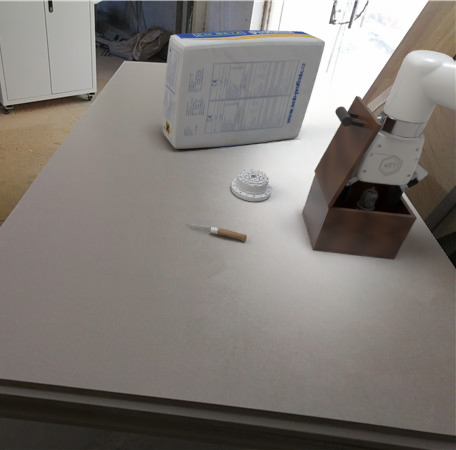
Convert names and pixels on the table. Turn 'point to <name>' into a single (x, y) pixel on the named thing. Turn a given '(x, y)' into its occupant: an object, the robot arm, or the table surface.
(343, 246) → the chest
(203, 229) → the folding knife
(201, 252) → the table surface
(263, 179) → the mechanical component
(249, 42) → the construction material bag
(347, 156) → the lid
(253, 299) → the table surface
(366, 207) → the dark grey chess piece
